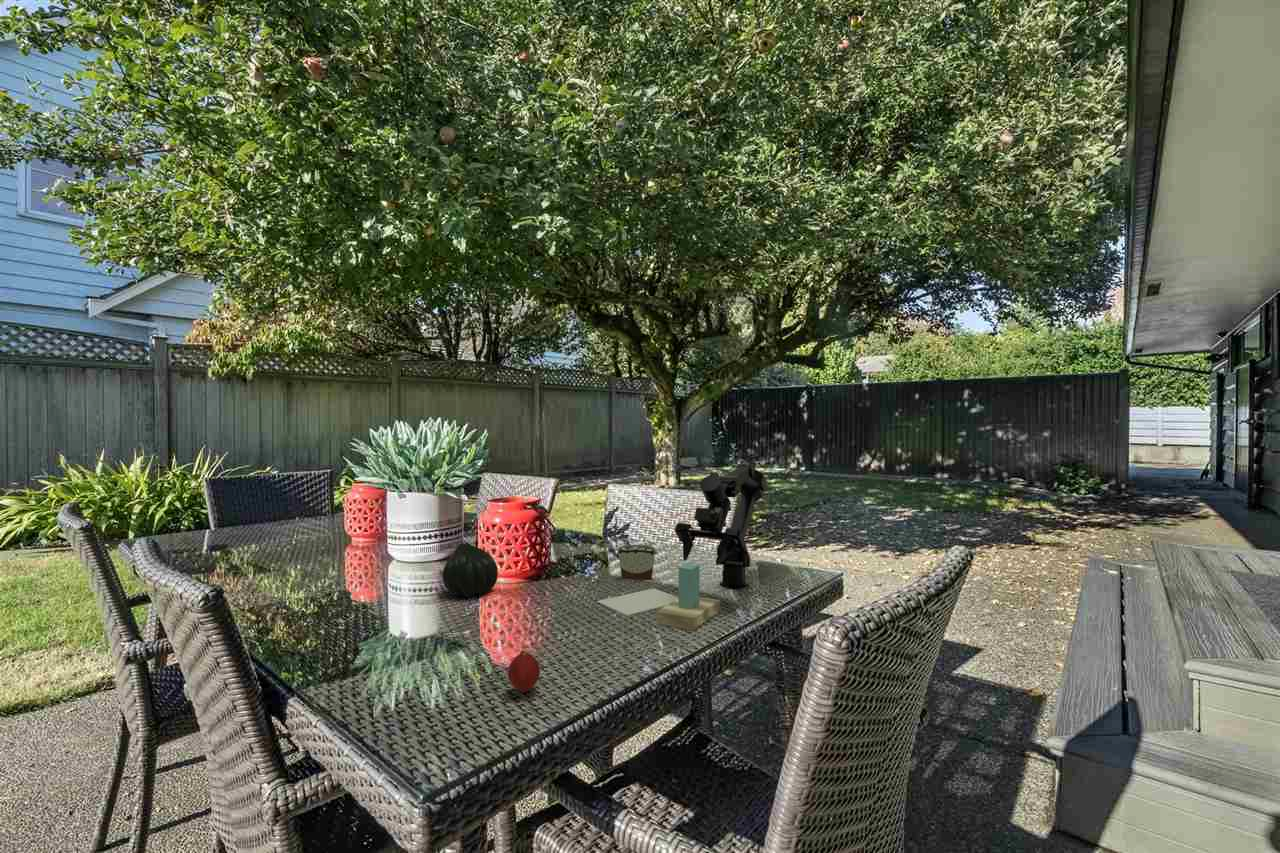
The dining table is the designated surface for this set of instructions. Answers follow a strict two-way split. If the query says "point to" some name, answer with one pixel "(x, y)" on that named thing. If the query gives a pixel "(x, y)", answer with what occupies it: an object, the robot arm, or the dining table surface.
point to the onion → (523, 671)
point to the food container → (636, 561)
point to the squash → (469, 571)
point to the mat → (639, 602)
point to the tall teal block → (689, 586)
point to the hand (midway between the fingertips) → (700, 562)
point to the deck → (688, 614)
